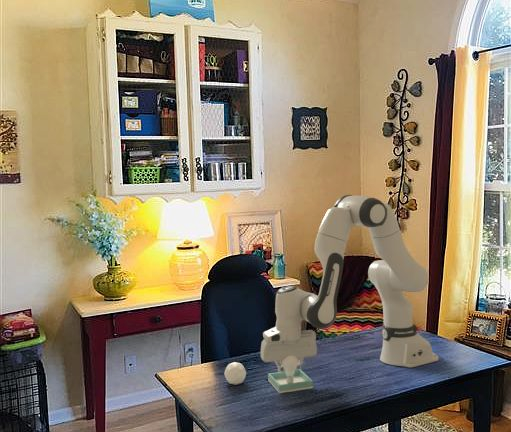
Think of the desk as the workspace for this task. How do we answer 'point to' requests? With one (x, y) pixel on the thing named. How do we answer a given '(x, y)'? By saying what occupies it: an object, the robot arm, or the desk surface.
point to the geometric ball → (235, 373)
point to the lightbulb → (289, 367)
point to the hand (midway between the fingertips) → (289, 370)
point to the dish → (282, 386)
